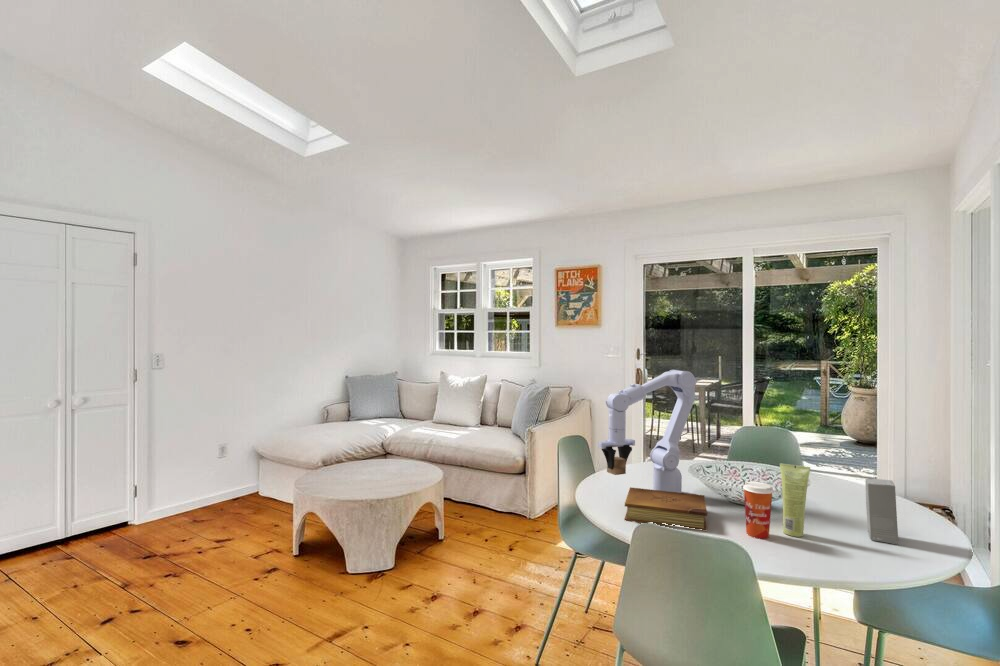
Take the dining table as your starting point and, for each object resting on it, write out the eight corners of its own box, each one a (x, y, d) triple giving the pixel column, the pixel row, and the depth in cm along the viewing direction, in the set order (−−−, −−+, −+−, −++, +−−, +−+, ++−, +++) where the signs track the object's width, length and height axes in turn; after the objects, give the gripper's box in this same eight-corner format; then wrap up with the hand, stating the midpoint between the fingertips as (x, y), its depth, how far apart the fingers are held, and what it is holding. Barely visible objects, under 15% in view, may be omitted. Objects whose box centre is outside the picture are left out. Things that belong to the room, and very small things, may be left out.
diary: (703, 512, 165) (704, 494, 165) (706, 533, 147) (707, 513, 147) (629, 503, 172) (630, 486, 172) (624, 521, 155) (624, 502, 155)
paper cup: (741, 536, 143) (742, 486, 143) (743, 527, 150) (743, 479, 150) (773, 542, 139) (774, 490, 140) (773, 533, 146) (774, 483, 146)
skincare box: (898, 545, 138) (899, 486, 138) (866, 540, 142) (866, 482, 142) (895, 535, 146) (895, 479, 146) (864, 530, 149) (864, 475, 149)
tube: (795, 530, 149) (796, 462, 149) (809, 536, 144) (810, 466, 144) (778, 531, 148) (779, 463, 148) (792, 538, 143) (793, 467, 143)
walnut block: (617, 470, 181) (617, 456, 182) (625, 473, 177) (625, 459, 177) (606, 471, 179) (607, 457, 180) (615, 475, 175) (615, 460, 175)
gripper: (625, 425, 185) (625, 463, 185) (592, 427, 179) (592, 467, 179) (639, 428, 179) (638, 467, 179) (605, 431, 172) (605, 472, 172)
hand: (616, 467), depth 178 cm, fingers closed on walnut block, 4 cm apart
